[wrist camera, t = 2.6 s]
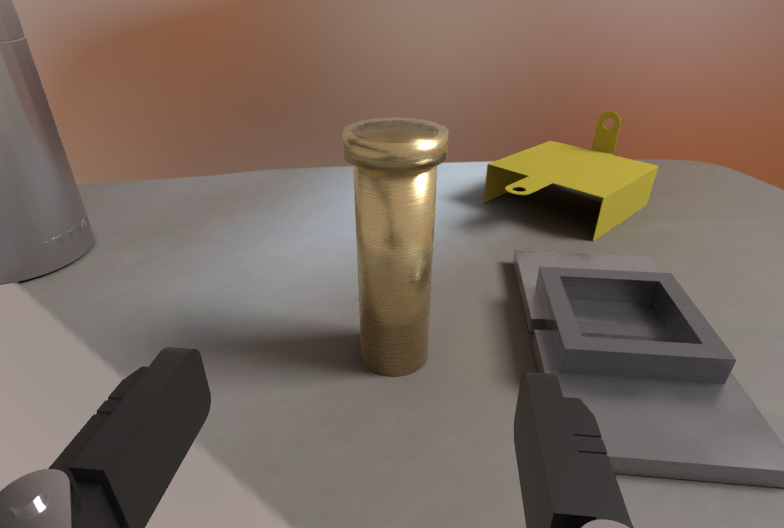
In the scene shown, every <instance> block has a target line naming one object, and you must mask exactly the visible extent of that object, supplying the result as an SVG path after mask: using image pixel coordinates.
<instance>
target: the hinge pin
mask: <svg viewBox="0 0 784 528" xmlns="http://www.w3.org/2000/svg"><path fill="white" fill-rule="evenodd" d="M447 149H448V130H447V128H445V127H444V126H442V125H440V124H437V123H434V122H431V121H426V120H420V119H411V118H379V119H370V120H364V121H360V122H356V123H353V124H350V125H348V126H347V127H345V128H344V129H343V151H344V158H345V160H346V161H348V162H349V163H350V164H352V165H354V189H355V214H356V238H357V263H358V288H359V313H360V337H361V357H362V360H363V362H364V364H365V365H366V366H367V367H368V368H369V369H371V370H372V371H374V372H376V373H379V374H382V375H386V376H403V375H407V374H410V373H413V372H415V371H417V370H418V369H420V368H421V367H422V366H423V365H424V364H425V362H426V360H427V357H428V340H429V319H430V299H431V279H432V259H433V239H434V218H435V198H436V178H437V165H439V164H441V163H442V162H444V161H445V160H446V158H447Z"/></svg>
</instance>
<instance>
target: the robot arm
mask: <svg viewBox="0 0 784 528" xmlns="http://www.w3.org/2000/svg"><path fill="white" fill-rule="evenodd" d="M94 239H95V237H94V234H93V231H92V228H91V225H90V222H89V220H88V217H87V214H86V211H85V208H84V205H83V202H82V199H81V196H80V193H79V190H78V187H77V184H76V181H75V178H74V175H73V172H72V169H71V167H70V164H69V161H68V158H67V155H66V152H65V149H64V146H63V143H62V141H61V138H60V135H59V132H58V129H57V126H56V123H55V120H54V117H53V114H52V112H51V109H50V106H49V103H48V100H47V97H46V94H45V91H44V88H43V86H42V83H41V80H40V77H39V74H38V71H37V68H36V65H35V62H34V59H33V57H32V54H31V51H30V48H29V45H28V42H27V39H26V37H25V34H24V31H23V28H22V26H21V23H20V20H19V17H18V14H17V11H16V9H15V5H14V2H13V0H0V285H2V284H9V283H14V282H18V281H23V280H27V279H31V278H34V277H37V276H41V275H44V274H47V273H49V272H52V271H54V270H57V269H60V268H62V267H64V266H66V265H68V264H70V263H72V262H73V261H75V260H77V259H78V258H80V257H81V256H83V255H84V254H85V253H86V252H87V251H88V250H89V249H90V248H91V247H92V245H93V244H94ZM210 404H211V394H210V390H209V386H208V382H207V378H206V374H205V370H204V366H203V362H202V358H201V355H200V353H199V351H198V350H196V349H184V348H169V347H168V348H164V349H163V350H162V351H161V352H160V353H159V354H158V355H157V357H156V358H155V359H154V360H153V362H152V363H151V364H150V366H149V367H141V368H139V369H138V370H137V371H135V372H134V373H132V374H131V375H129V376H128V377H127V378H125V379H124V380H122V381H121V383H120V384H119V385H118V386H117V387H116V389H115V390H114V391H113V392H112V393H111V394H110V396H109V397H108V401H105V402H104V403H103V404H102V405H101V406H100V408H99V409H98V410H97V414H96V415H93V416H92V417H91V418H90V420H89V421H88V422H87V423H86V424H85V426H84V427H83V428H82V429H81V430H80V432H79V433H78V434H77V435H76V436H75V438H74V439H73V440H72V441H71V442H70V444H69V445H68V446H67V447H66V448H65V449H64V451H63V452H62V453H61V454H60V456H59V457H58V458H57V459H56V460H55V461H54V463H53V464H52V465H51V466H50V467H49V468H48V469H44V470H39V471H35V472H32V473H29V474H27V475H25V476H22V477H20V478H19V479H17V480H15V481H14V482H12V483H11V484H9V485H8V486H6V487H5V488H4V489H2V490H1V491H0V528H145V526H146V525H147V523H148V521H149V519H150V518H151V516H152V514H153V512H154V511H155V509H156V507H157V505H158V503H159V502H160V500H161V498H162V496H163V495H164V493H165V491H166V489H167V488H168V485H169V484H170V482H171V481H172V479H173V477H174V475H175V473H176V472H177V470H178V468H179V466H180V464H181V463H182V461H183V459H184V458H185V456H186V454H187V452H188V450H189V449H190V447H191V445H192V443H193V442H194V440H195V438H196V436H197V435H198V433H199V431H200V429H201V427H202V426H203V424H204V422H205V420H206V418H207V416H208V413H209V410H210ZM601 437H602V436H601V433H600V430H599V427H598V424H597V421H596V418H595V416H594V414H593V413H592V412H591V411H590V410H589V409H588V407H587V406H586V405H585V404H584V403H583V402H582V400H581V399H580V398H571V397H563V394H562V391H561V387H560V384H559V380H558V377H557V375H556V374H551V373H535V372H523V374H522V377H521V382H520V388H519V394H518V400H517V406H516V412H515V419H514V443H515V450H516V457H517V464H518V471H519V478H520V485H521V492H522V499H523V506H524V513H525V520H526V527H527V528H634V527H633V525H632V523H631V521H630V518H629V515H628V512H627V509H626V506H625V503H624V500H623V497H622V494H621V491H620V488H619V486H618V483H617V480H616V477H615V474H614V471H613V468H612V465H611V462H610V459H609V457H607V450H606V447H605V444H604V441H603V440H602V438H601Z"/></svg>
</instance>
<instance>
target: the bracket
mask: <svg viewBox="0 0 784 528" xmlns="http://www.w3.org/2000/svg"><path fill="white" fill-rule="evenodd" d="M606 118H612V119H613V120H614V122H615V124H614V127H613V128H611V129H607V128H605V127H604V120H605V119H606ZM620 125H621V121H620V117H619V116H618V115H617V114H616V113H614V112H605V113H603V114H602V115H601V116H600V118H599V120H598V124H597V129H596V133H595V138H594V142H593V147H592V149H591V150H587V149H583V148H579V147H575V146H571V145H566V144H562V143H558V142H554V141H548V142H546V143H543V144H540V145H538V146H535V147H532V148H530V149H527V150H524V151H522V152H519V153H516V154H514V155H511V156H508V157H505V158H503V159H500V160H497V161H495V162H492V163H489V164H488V165H487V175H486V184H485V193H484V202H483V203H485V202H487V201H489V200H491V199H494V198H496V197H498V196H500V195H502V194H505V193H507V192H509V193H512V194H516V195H528V194H531V193H533V192H535V191H537V190H540V189H542V188H544V187H546V186H548V185H550V184H552V183H553V184H556V185H560V186H563V187H566V188H570V189H573V190H577V191H580V192H583V193H587V194H590V195H594V196H597V197H600V198H603V200H602V204H601V208H600V212H599V216H598V220H597V224H596V229H595V233H594V237H593V241H594V240H596V239H597V238H599V237H600V236H602V235H603V234H605V233H606V232H607V231H609V230H610V229H612V228H613V227H615V226H616V225H618V224H619V223H621V222H622V221H624V220H625V219H626V218H628V217H629V216H631V215H632V214H634V213H635V212H637V211H638V210H640V209H641V208H642V207H644V206H645V205H647V203H648V200H649V196H650V193H651V189H652V186H653V183H654V179H655V176H656V172H657V169H658V166H656V165H652V164H648V163H644V162H639V161H635V160H631V159H626V158H622V157H618V156H613V154H614V150H615V146H616V142H617V137H618V133H619V129H620ZM518 187H520V188H524V189H526V191H523V192H518V191H514V190H513V189H516V188H518Z"/></svg>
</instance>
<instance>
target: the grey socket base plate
mask: <svg viewBox="0 0 784 528" xmlns="http://www.w3.org/2000/svg"><path fill="white" fill-rule="evenodd" d="M513 263H514V268H515V272H516V277H517V281H518V285H519V290H520V294H521V299H522V303H523V308H524V312H525V316H526V321H527V325H528V330H529V333H534V335H533V340H532V347H533V352H534V356H535V360H536V365H537V369H538V373H551V374H556V375H557V377H558V380H559V384H560V387H561V391H562V394H563V397H571V398H580V399H581V400H582V402H583V403H584V404H585V405H586V406H587V407H588V409H589V410H590V411H591V412H592V413H593V414H594V416H595V418H596V421H597V424H598V427H599V430H600V433H601V436H602V437H601V438H602V440H603V441H604V444H605V447H606V450H607V457H609V459H610V462H611V465H612V468H613V471H614V473H616V474H628V475H640V476H651V477H663V478H674V479H686V480H697V481H709V482H721V483H732V484H744V485H755V486H767V487H778V488H784V445H783V444H782V442H781V441H780V439H779V438H778V437H777V435H776V434H775V432H774V431H773V430H772V428H771V427H770V425H769V424H768V423H767V421H766V420H765V418H764V417H763V416H762V414H761V413H760V412H759V410H758V409H757V407H756V406H755V405H754V403H753V402H752V400H751V399H750V398H749V396H748V395H747V393H746V392H745V391H744V389H743V388H742V386H741V385H740V384H739V382H738V381H737V380H736V378H735V377H734V375H733V374H732V373H731V370H732V368H733V366H734V364H735V362H736V359H735V357H734V356H733V355H732V353H731V352H730V351H729V349H728V348H727V347H726V345H725V344H724V343H723V341H722V340H721V339H720V338H719V336H718V335H717V334H716V332H715V331H714V330H713V328H712V327H711V326H710V324H709V323H708V322H707V320H706V319H705V318H704V316H703V315H702V314H701V312H700V311H699V310H698V308H697V307H696V306H695V304H694V303H693V302H692V300H691V299H690V298H689V296H688V295H687V294H686V293H685V291H684V290H683V289H682V287H681V286H680V285H679V283H678V282H677V281H676V279H675V278H674V277H673V275H672V274H671V273H660V272H659V271H658V270H657V268H656V267H655V265H654V264H653V263H652V261H651V260H650V258H649V257H641V256H620V255H600V254H579V253H558V252H538V251H517V250H515V255H514V262H513Z"/></svg>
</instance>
